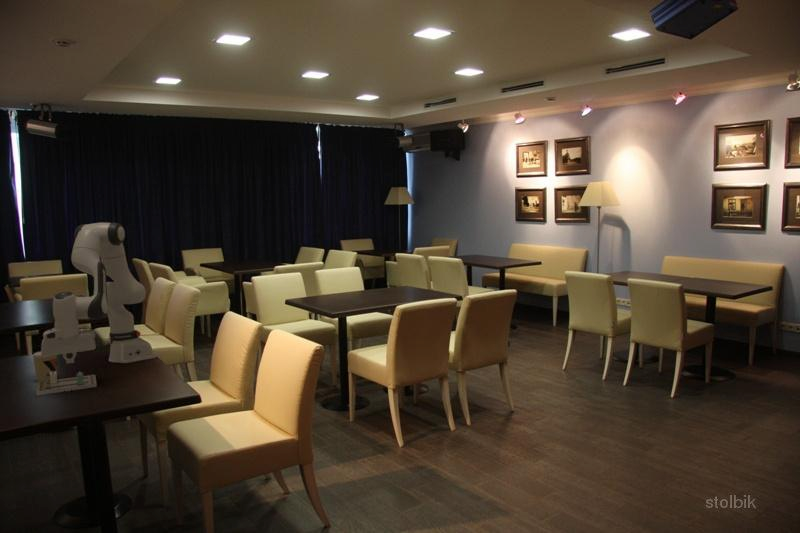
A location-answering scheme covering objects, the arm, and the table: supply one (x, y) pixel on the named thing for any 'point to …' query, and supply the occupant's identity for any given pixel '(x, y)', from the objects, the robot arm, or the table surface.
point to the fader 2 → (80, 378)
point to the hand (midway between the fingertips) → (70, 363)
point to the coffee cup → (44, 366)
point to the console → (65, 385)
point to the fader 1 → (53, 377)
